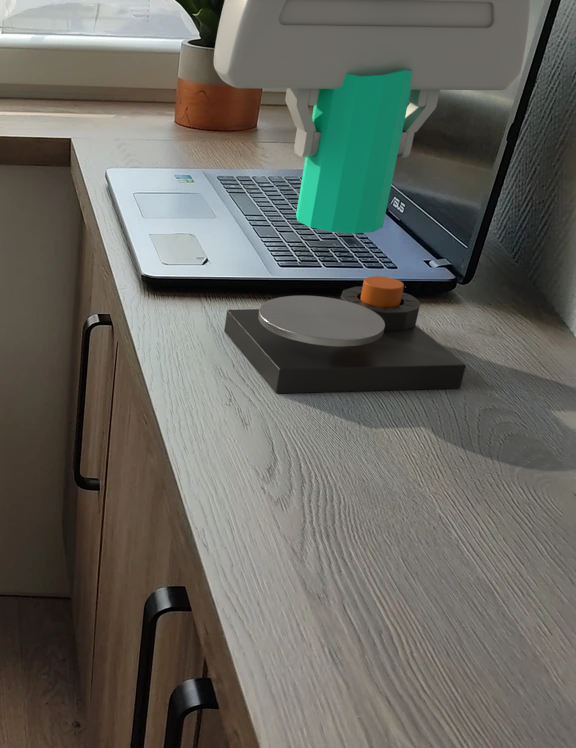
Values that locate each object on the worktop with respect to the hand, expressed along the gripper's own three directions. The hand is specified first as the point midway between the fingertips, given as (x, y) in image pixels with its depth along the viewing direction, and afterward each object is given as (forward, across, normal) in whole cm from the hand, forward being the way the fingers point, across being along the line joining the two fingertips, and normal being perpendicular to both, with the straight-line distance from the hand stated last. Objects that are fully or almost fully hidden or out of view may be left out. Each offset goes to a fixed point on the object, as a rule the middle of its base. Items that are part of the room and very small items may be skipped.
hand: (350, 155), depth 75 cm
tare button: (+13, -7, -5) cm, 15 cm away
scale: (+16, -3, -2) cm, 16 cm away
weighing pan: (+12, 0, 0) cm, 12 cm away
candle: (+5, 0, 0) cm, 5 cm away
